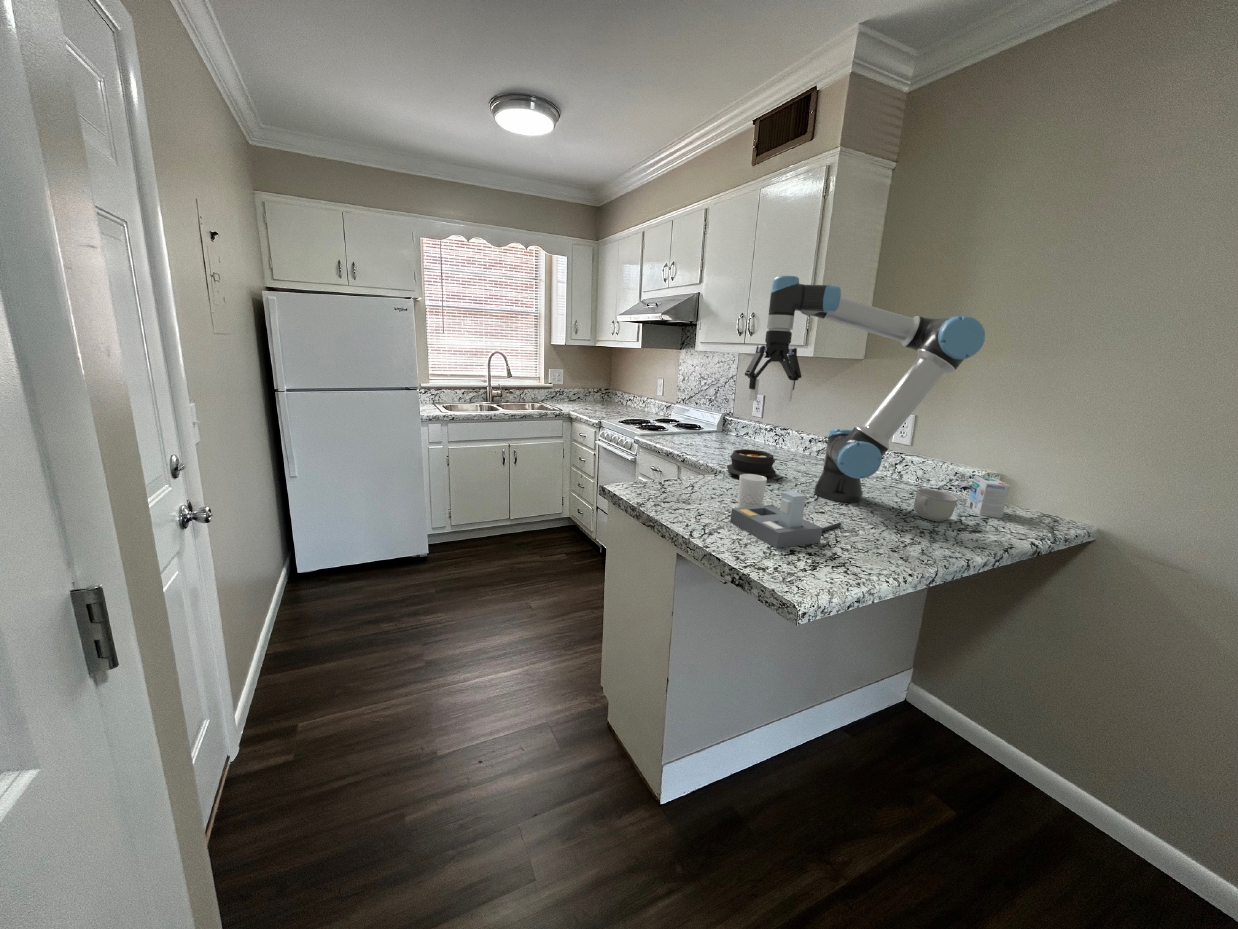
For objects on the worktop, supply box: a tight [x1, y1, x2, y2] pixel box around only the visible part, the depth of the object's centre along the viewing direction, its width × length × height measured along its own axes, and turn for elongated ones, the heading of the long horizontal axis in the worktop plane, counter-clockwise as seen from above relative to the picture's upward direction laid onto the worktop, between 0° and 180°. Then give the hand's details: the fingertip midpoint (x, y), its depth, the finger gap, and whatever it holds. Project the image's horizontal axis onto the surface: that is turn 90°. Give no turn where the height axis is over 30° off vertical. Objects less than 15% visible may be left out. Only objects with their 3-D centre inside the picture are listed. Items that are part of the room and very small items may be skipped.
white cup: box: [737, 474, 768, 508], centre depth 152 cm, size 8×8×10 cm
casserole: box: [726, 448, 777, 478], centre depth 197 cm, size 25×19×8 cm
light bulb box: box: [966, 475, 1011, 519], centre depth 165 cm, size 11×7×11 cm, turn 165°
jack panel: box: [729, 504, 823, 549], centre depth 135 cm, size 14×19×4 cm
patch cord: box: [822, 521, 842, 533], centre depth 138 cm, size 16×1×1 cm, turn 128°
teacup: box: [913, 488, 959, 522], centre depth 154 cm, size 14×11×8 cm
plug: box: [778, 490, 807, 529], centre depth 129 cm, size 5×4×12 cm
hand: (770, 400), depth 159 cm, fingers open, 13 cm apart
